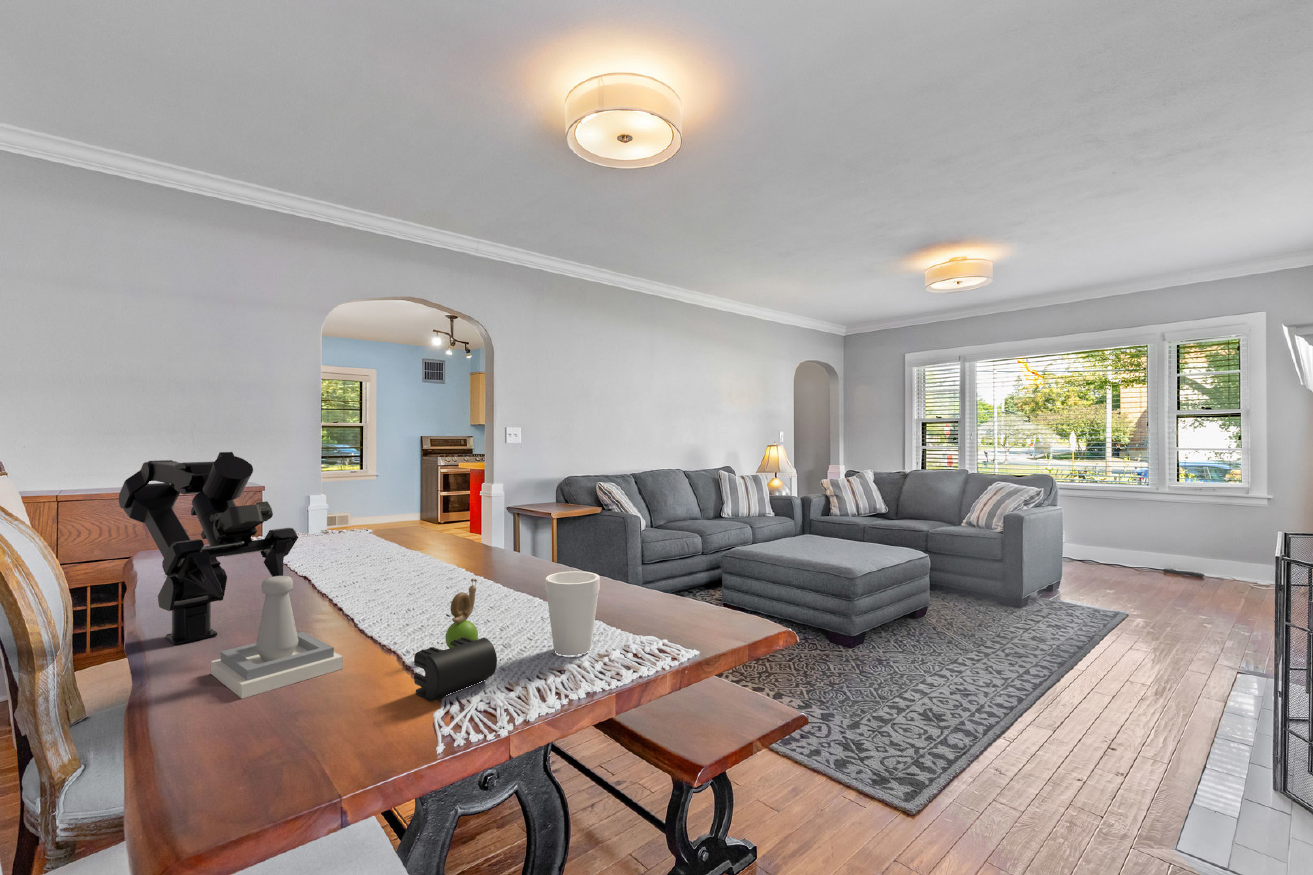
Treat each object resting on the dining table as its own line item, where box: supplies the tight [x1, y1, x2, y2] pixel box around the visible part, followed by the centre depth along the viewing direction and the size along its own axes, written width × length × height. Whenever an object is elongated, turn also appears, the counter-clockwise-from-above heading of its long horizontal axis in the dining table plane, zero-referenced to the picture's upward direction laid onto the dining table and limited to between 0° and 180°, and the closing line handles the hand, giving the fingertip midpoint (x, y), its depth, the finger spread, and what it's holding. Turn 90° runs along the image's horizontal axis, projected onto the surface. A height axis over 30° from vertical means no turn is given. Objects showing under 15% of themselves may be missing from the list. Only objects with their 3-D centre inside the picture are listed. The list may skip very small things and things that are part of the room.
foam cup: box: [544, 570, 601, 655], centre depth 104 cm, size 10×9×13 cm
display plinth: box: [210, 631, 344, 699], centre depth 95 cm, size 14×14×4 cm
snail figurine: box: [444, 578, 479, 649], centre depth 104 cm, size 5×6×12 cm
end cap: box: [413, 637, 498, 703], centre depth 88 cm, size 10×7×7 cm
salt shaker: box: [255, 575, 298, 662], centre depth 95 cm, size 6×6×13 cm
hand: (252, 589), depth 99 cm, fingers open, 9 cm apart
